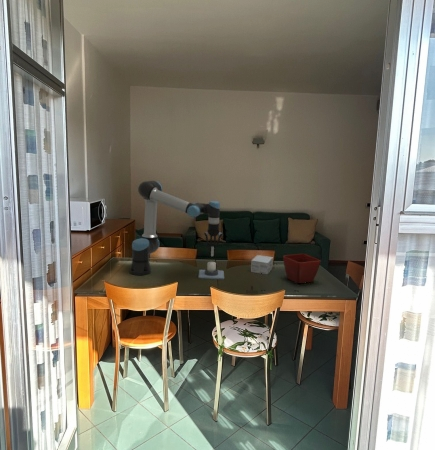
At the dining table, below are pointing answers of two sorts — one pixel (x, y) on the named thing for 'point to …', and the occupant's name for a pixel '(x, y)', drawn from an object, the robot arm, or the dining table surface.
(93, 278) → the dining table surface
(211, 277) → the barrel board
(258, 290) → the dining table surface
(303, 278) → the plant pot
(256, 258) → the supplement box
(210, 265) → the plug cap
